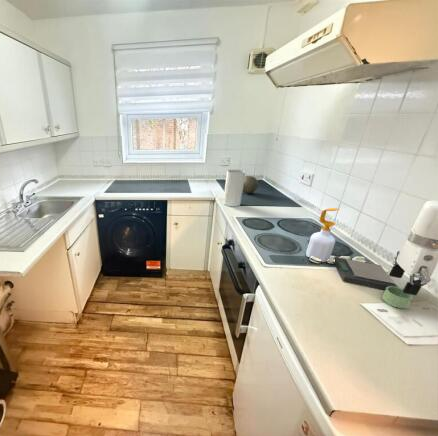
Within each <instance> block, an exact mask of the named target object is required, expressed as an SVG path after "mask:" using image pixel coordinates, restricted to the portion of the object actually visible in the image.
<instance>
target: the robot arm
mask: <svg viewBox="0 0 438 436" xmlns="http://www.w3.org/2000/svg"><path fill="white" fill-rule="evenodd" d="M394 260H395V261H394V262H393V266H392V268H391V270H390V272H389V273H388V275H389V276H390V277H393V278H397V279H402V278H403V276H404V274H405V273H406V274H407V275H409V281H407V282H406V284H405V285H404V288H402V289H403V292H404V293H406V294H411V295H412V296H417V295H418V294H419V291H420V290H421V288H422V287H424V286H426V285H427V284H428V283H429V282H431V280H432V278H431V277H432V275H433V273H434V271H435V269H436V267H437V266H438V199H431V200H428V201H426V202H425V203H424V204H423V206H422V208H421V210H420V212H419V213H418V215H417V218H416V220H415V221H414V224H413V225H412V228H411V230H410V232H409V234H408V235H407V237H406V241H405V243H404V244H403V246H402V247H401V249H400V250H398V251H397V252H396V256H395V257H394ZM415 278H418V279H415Z"/></svg>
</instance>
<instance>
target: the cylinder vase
mask: <svg viewBox="0 0 438 436" xmlns="http://www.w3.org/2000/svg"><path fill="white" fill-rule="evenodd" d="M245 177H246V171H245V170H242V169H227V170H226V177H225V185H224V192H223V199H222V204H223V205H224V206H227V207H233V208H234V207H239V206H241V203H242V198H243V185H244V178H245Z"/></svg>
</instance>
